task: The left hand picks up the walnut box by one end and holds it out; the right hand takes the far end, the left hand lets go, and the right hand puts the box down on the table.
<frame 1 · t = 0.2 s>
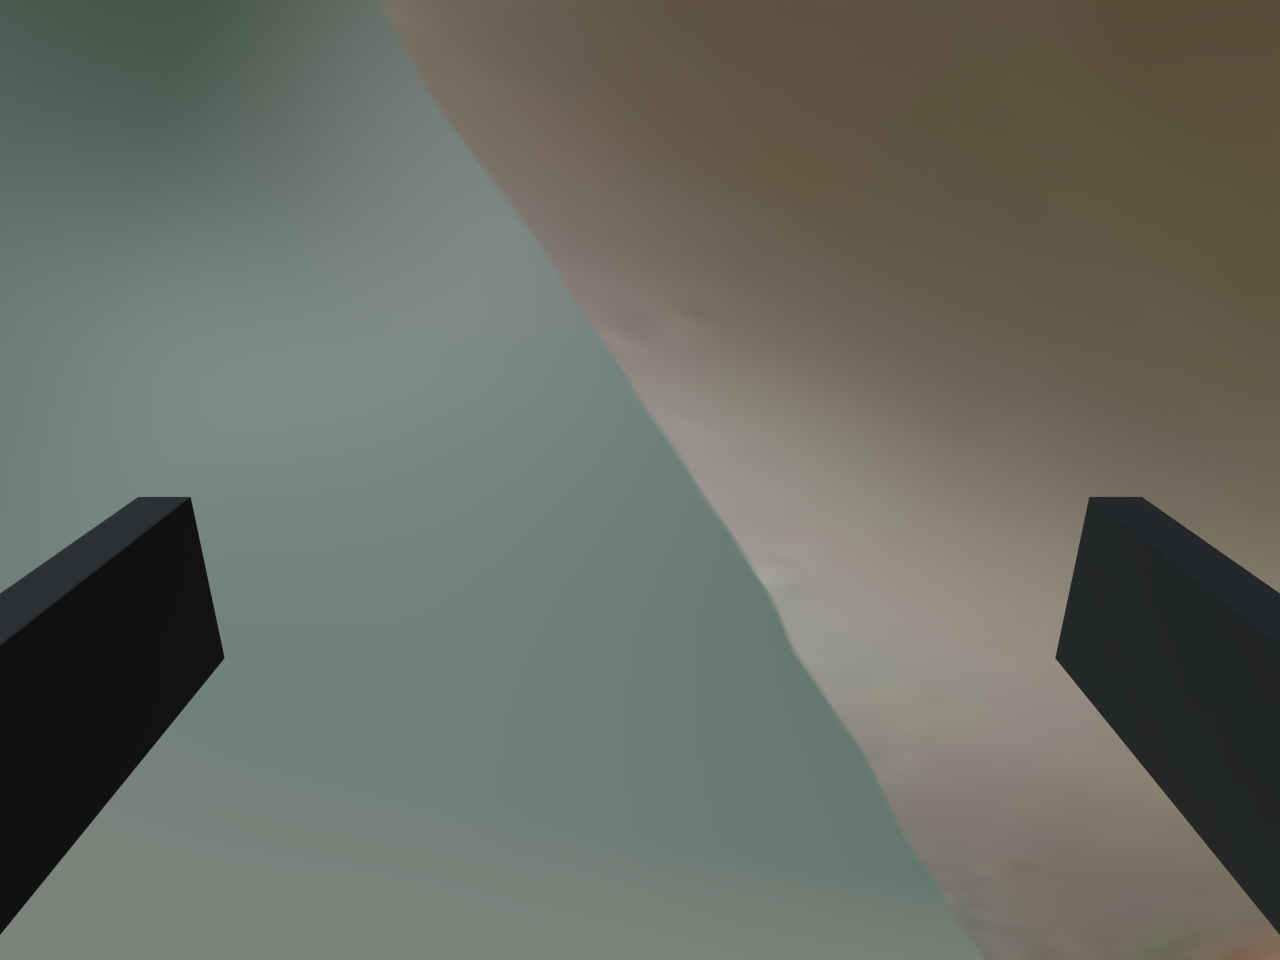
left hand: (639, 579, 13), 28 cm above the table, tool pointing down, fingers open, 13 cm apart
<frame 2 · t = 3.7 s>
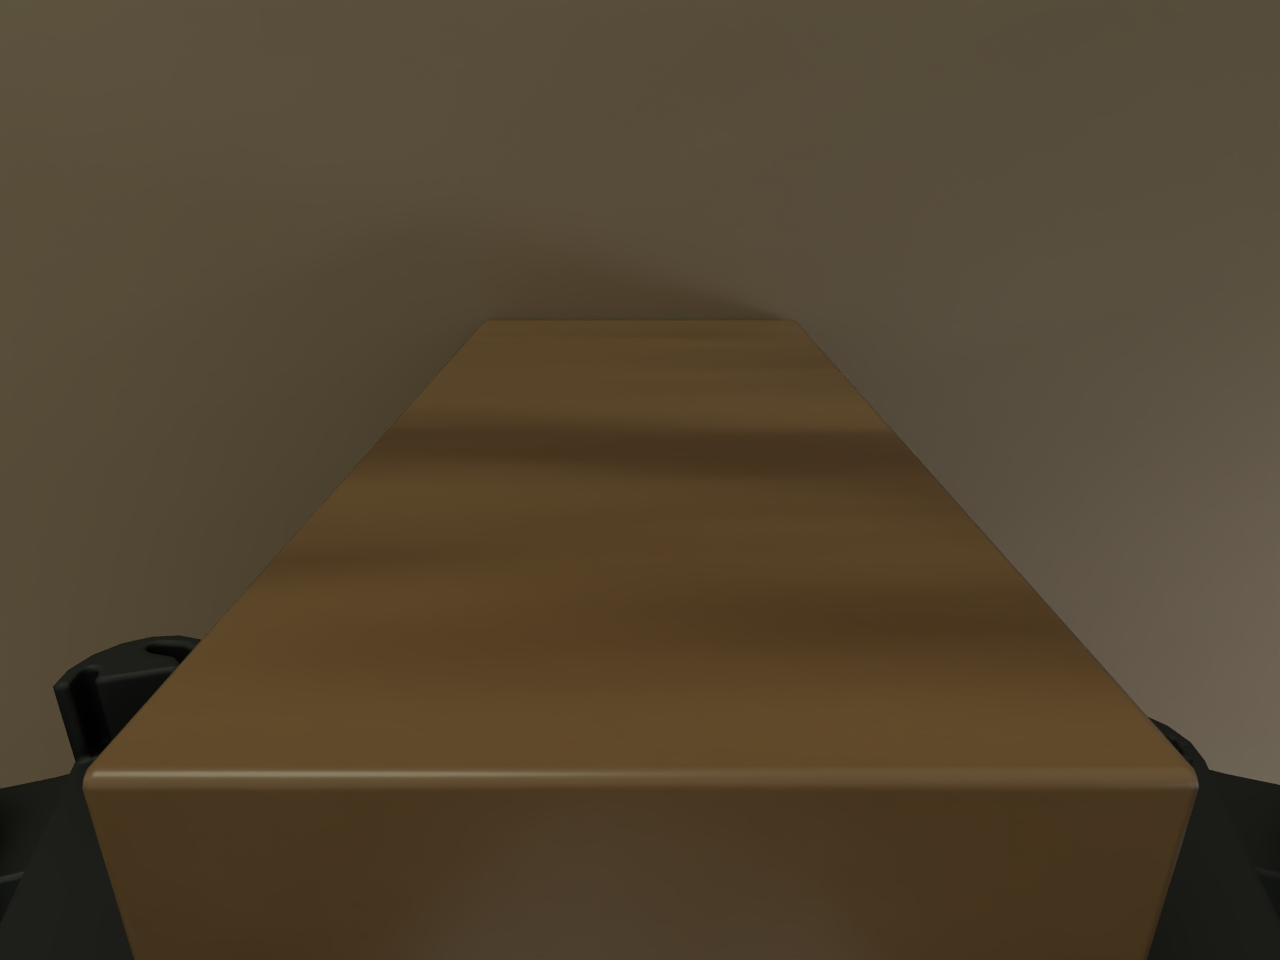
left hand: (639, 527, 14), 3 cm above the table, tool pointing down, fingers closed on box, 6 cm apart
box: (640, 792, 20), on the table, touching left hand
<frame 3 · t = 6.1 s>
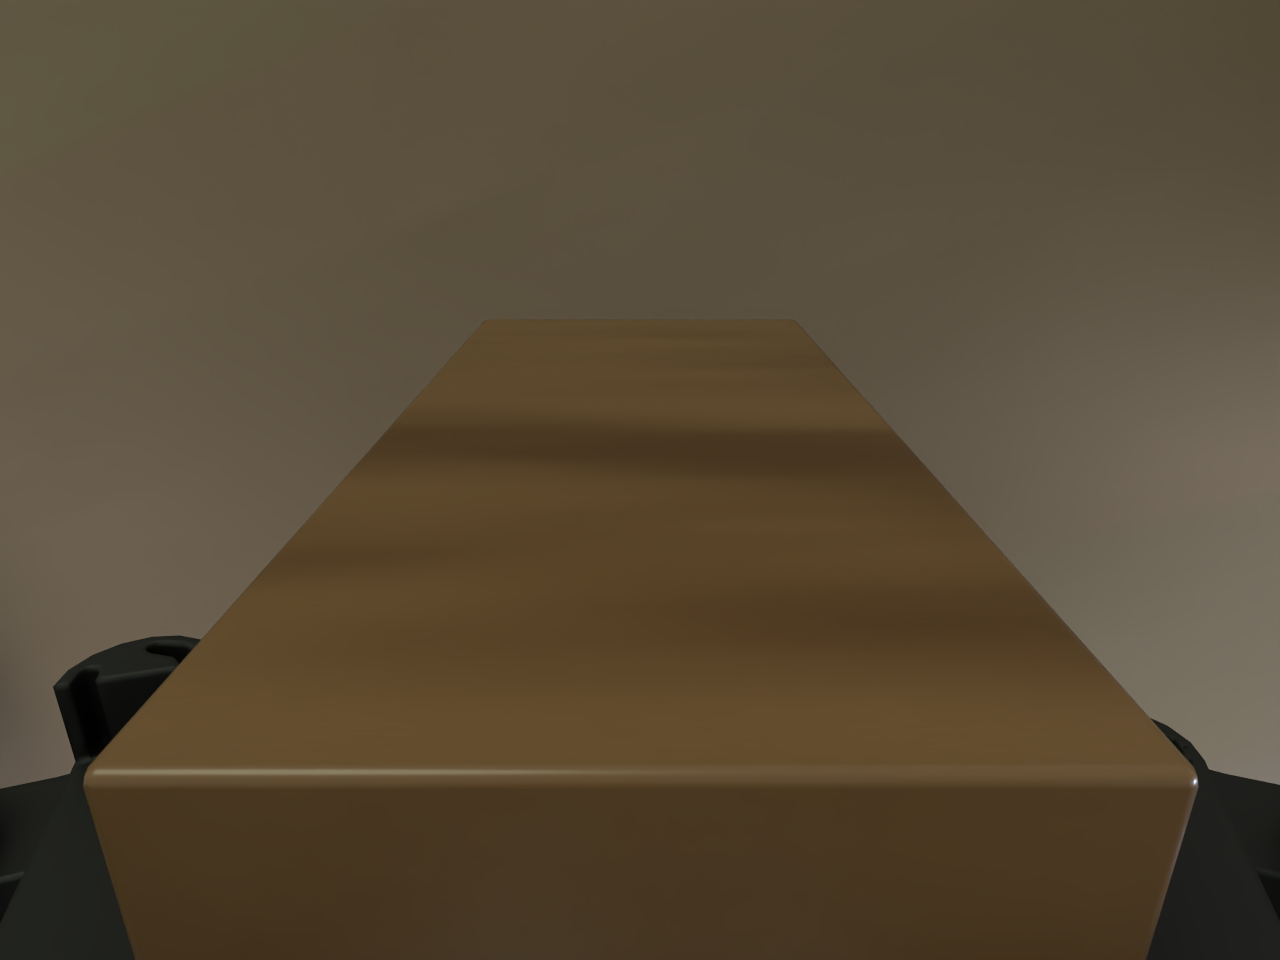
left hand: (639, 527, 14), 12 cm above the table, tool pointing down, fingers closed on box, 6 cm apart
box: (640, 791, 20), point 10 cm above the table, touching left hand
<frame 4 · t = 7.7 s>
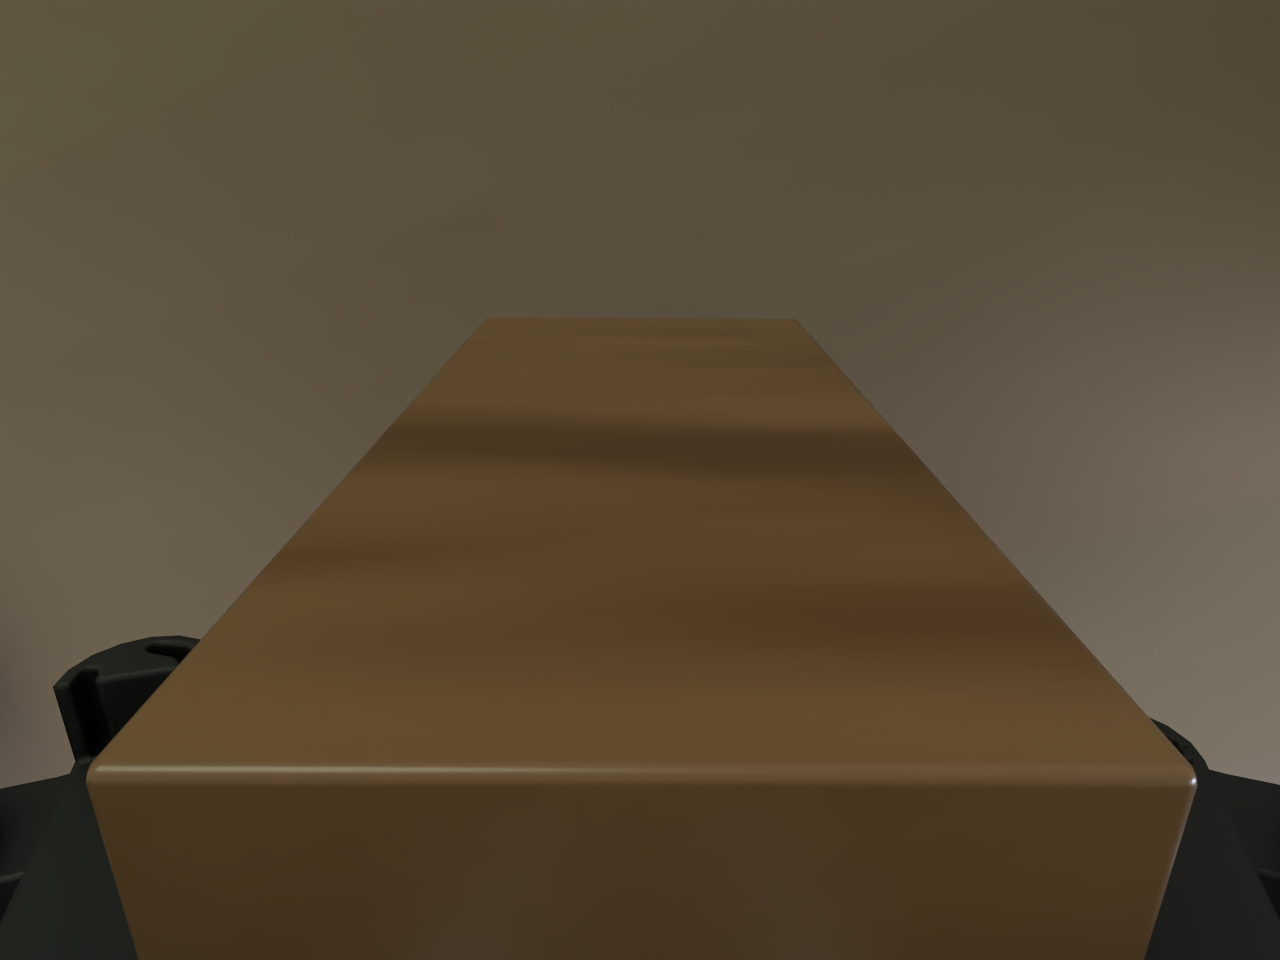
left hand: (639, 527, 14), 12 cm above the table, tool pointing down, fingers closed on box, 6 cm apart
box: (639, 789, 20), point 10 cm above the table, touching left hand, right hand
when the left hand's fingers open (12 cm above the table, at t = 8.7 s): box stays where it is, held by the right hand.
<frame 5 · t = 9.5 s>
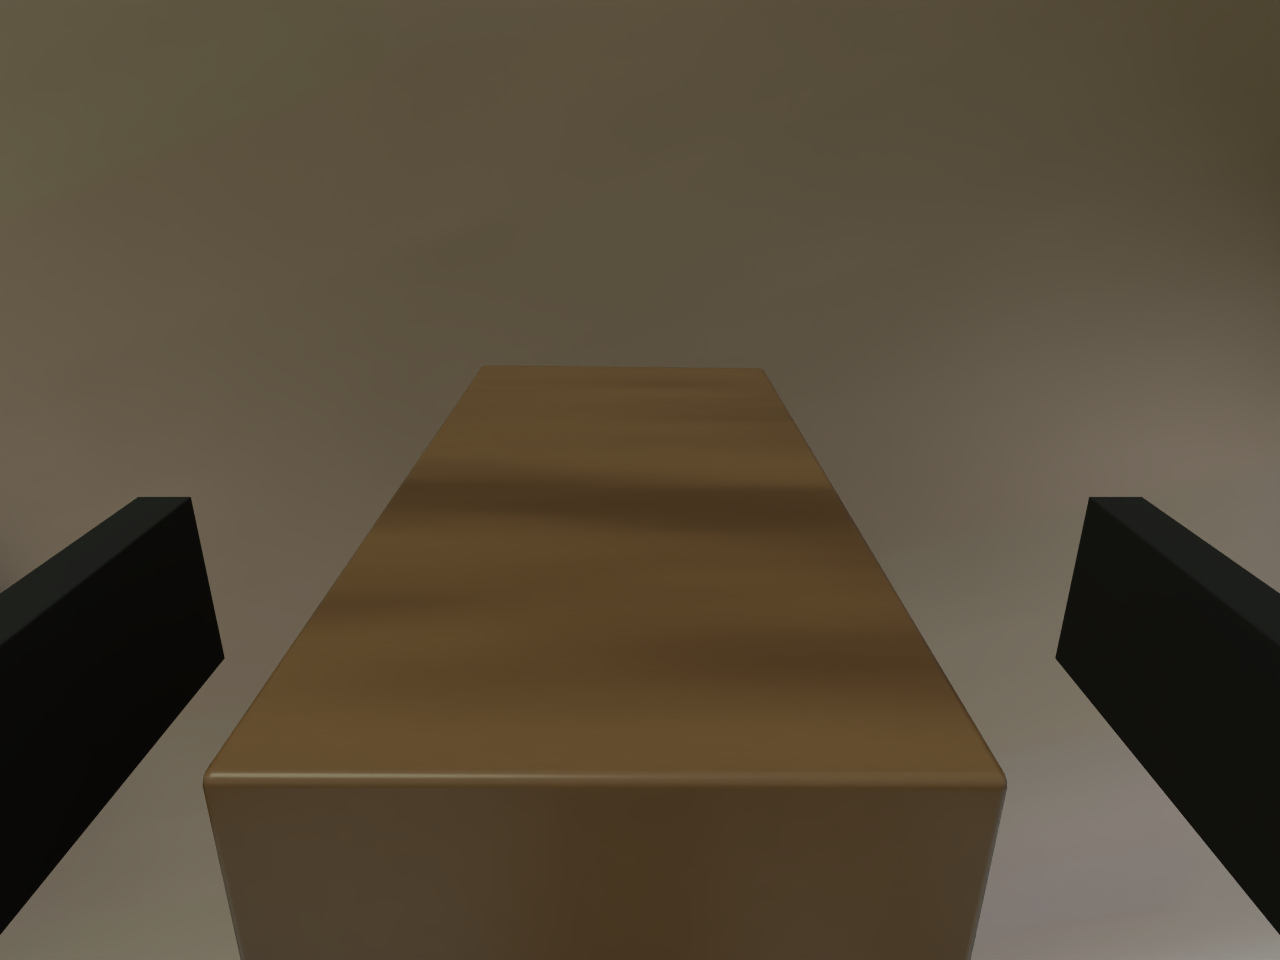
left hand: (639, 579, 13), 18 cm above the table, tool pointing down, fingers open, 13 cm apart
box: (620, 793, 21), point 12 cm above the table, touching right hand
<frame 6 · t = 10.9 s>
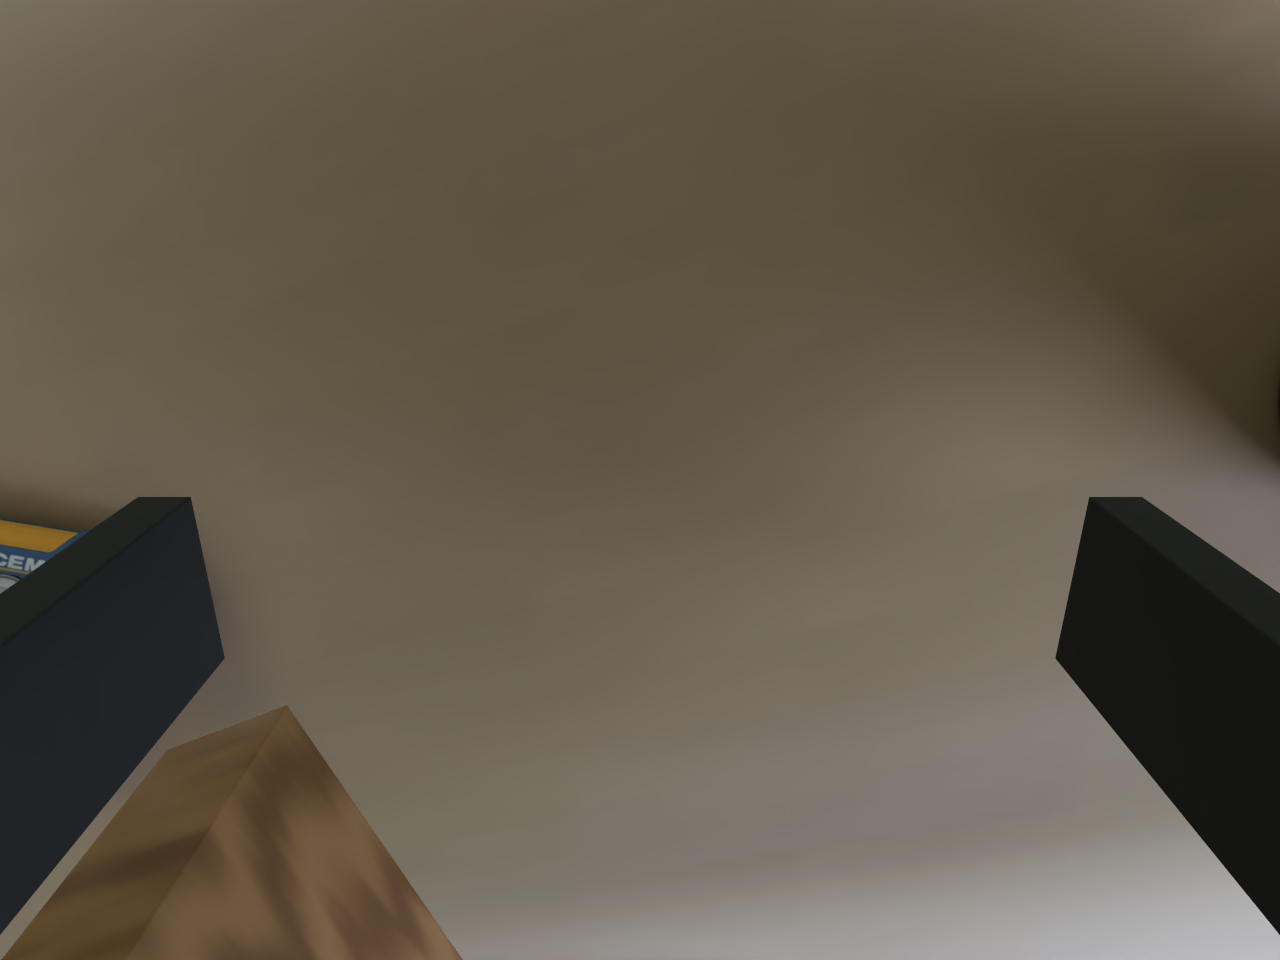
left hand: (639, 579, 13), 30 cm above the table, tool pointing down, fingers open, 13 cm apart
blue yellow printed carton: (32, 622, 47), on the table
box: (361, 913, 38), point 13 cm above the table, touching right hand
when the right hand's fingers open (9 cm above the table, at t = 14.0 s): box drops 1 cm, on the table.
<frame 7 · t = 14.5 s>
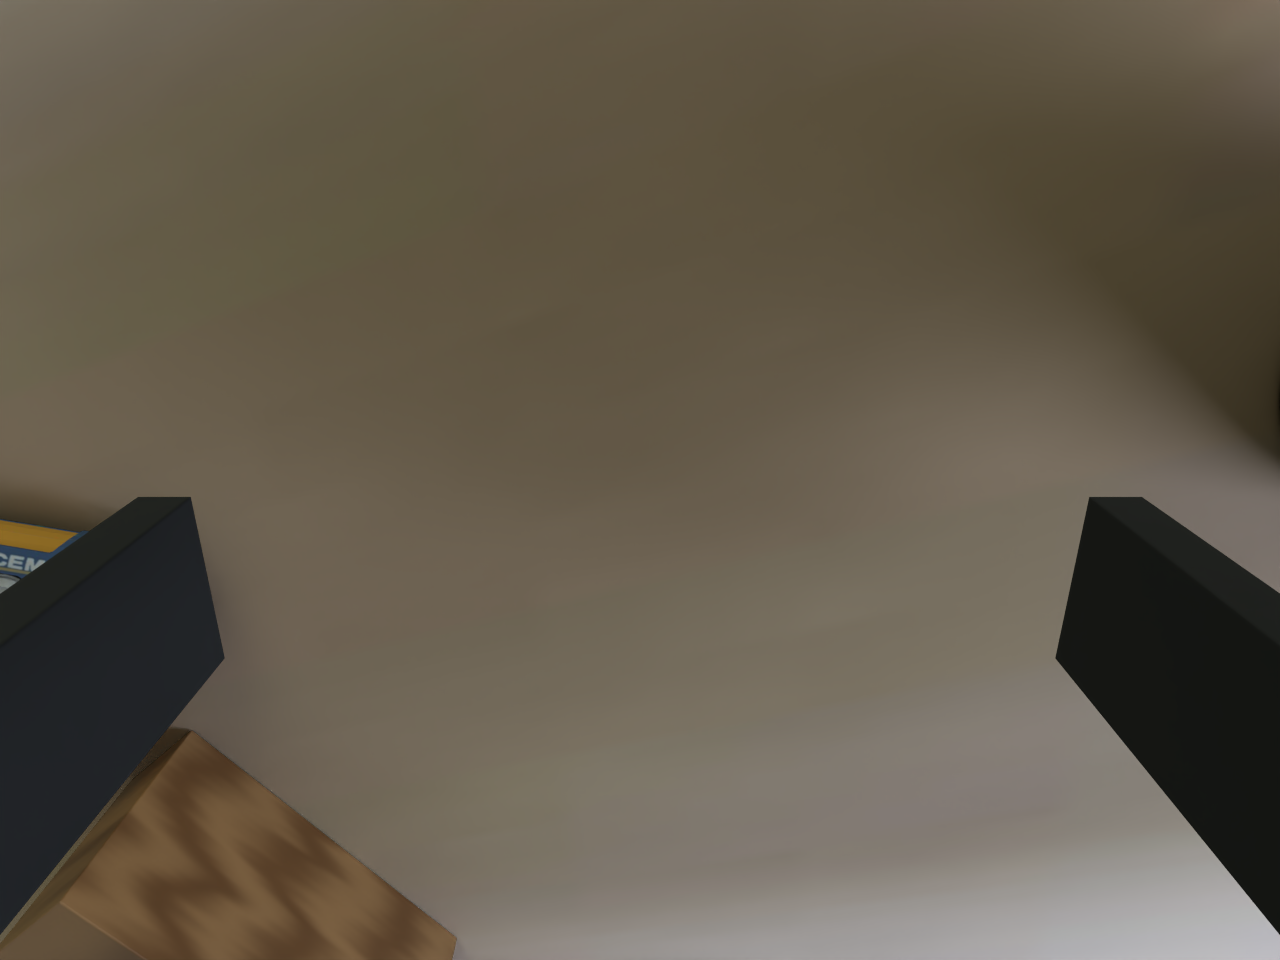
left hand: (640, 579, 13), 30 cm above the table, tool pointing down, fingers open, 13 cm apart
blue yellow printed carton: (32, 622, 47), on the table
box: (301, 862, 53), on the table
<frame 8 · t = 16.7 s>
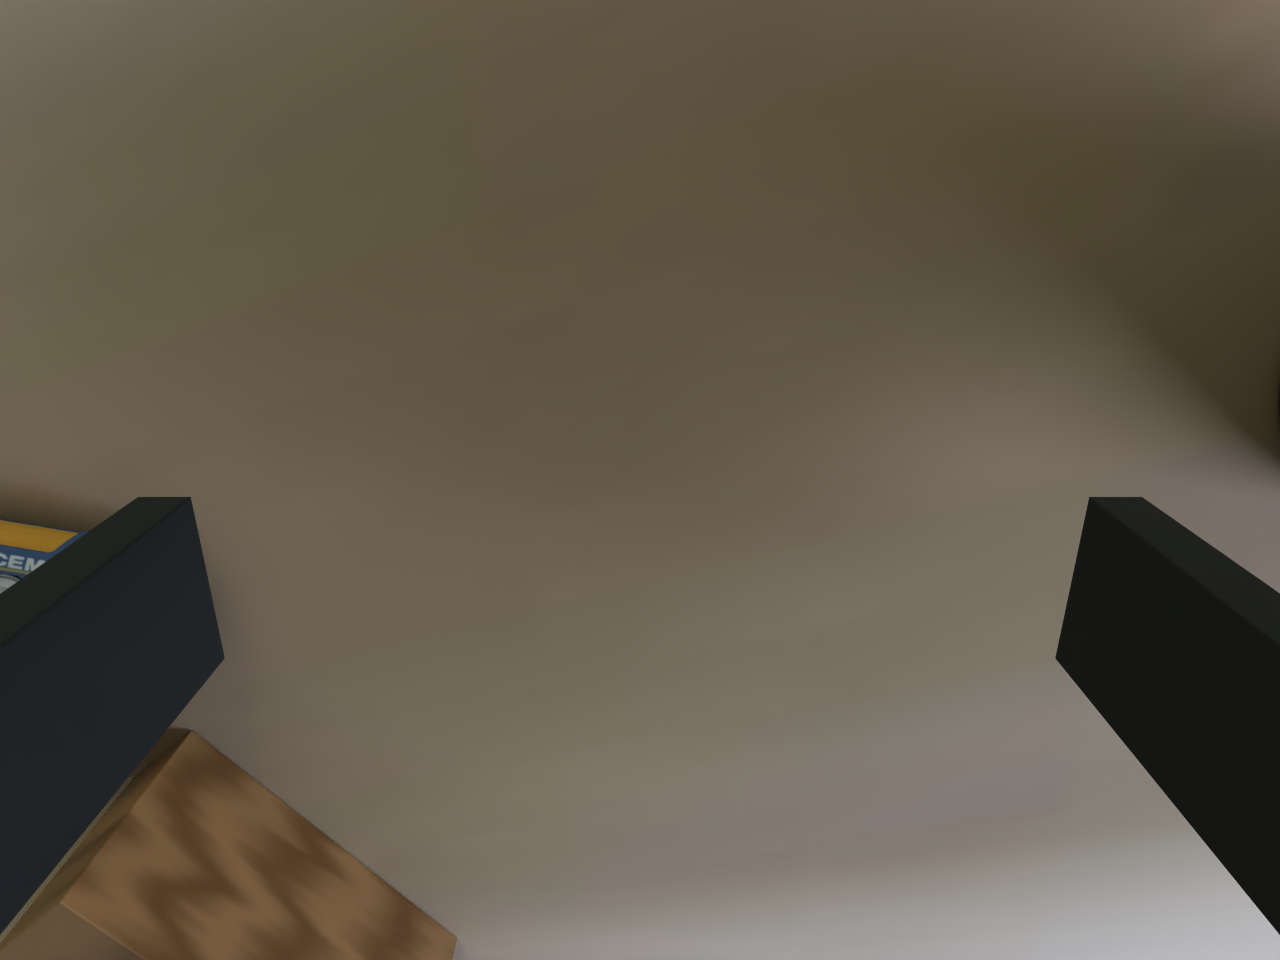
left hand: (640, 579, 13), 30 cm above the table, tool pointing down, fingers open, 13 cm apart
blue yellow printed carton: (32, 622, 47), on the table
box: (301, 862, 53), on the table
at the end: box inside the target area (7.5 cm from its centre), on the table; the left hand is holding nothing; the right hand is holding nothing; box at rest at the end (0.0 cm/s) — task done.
